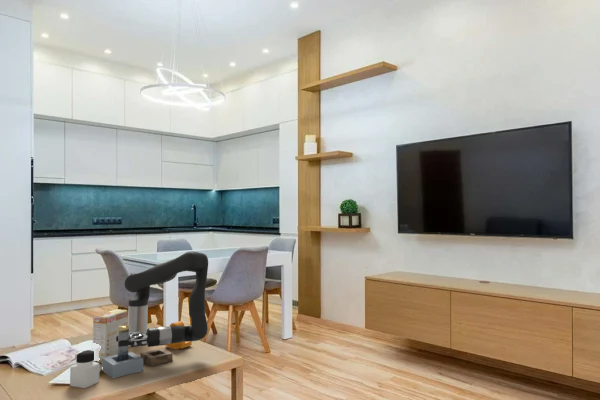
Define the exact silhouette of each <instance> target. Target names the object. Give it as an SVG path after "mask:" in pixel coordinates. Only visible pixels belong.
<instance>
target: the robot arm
mask: <svg viewBox="0 0 600 400" xmlns="http://www.w3.org/2000/svg"><path fill="white" fill-rule="evenodd" d="M208 270H209V257H208V256H207V254H205V253H202V252H198V251H194V250H193V251H192V250H191V251H190V250H189V251H187V252H184V253H183V254H181V255H179V256H177V257H176V258H172V259H170V260H167V261H165V262H162V263H160V264H157V265H154V266H152V267H150V268H148V269H146V270H144V271H141V272H137V273H132V274H129V275H128V276H126V278H125V280H124V288H125V290H126V291H128V292H130V293H135V294H134V296H132V297H131V298H130V299H128V307H127V308H128V326H129V340H121V341H119V342H118V336H116V341H117V342H118V346H119V347H121V346H128V345H129V347H131V348H136V347H145V346H146V347H148V348H150V347H152V348H153V347H159V346H165V345H167V344H171V343H178V342H189V341H192V342H197V341H200V340H202V339H204V338H205V337H206V336H207V334H208V321H207V316H206V298H205V297H206V285H207V279H208ZM183 272H193V273H195V284H194V286H193V288H192V289H191V292H190V295H189V300H188V315H189V317H190V319H191V320H190V321H191V324H190V325H184V326H171V327H170V326H158V327H148V312H149V310H148V306H149V305H148V304H149V303H148V302H149V300H150V292H151V291H150V289H151V286H155V285H160V284H164V283H167V282H170V281H172V280H174V279H175V278H176V276H178V275H177V274H179V273H183Z"/></svg>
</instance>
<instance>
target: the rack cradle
mask: <svg viewBox="0 0 600 400" xmlns="http://www.w3.org/2000/svg"><path fill="white" fill-rule="evenodd" d="M102 367H103V371H104V373H105V374H106V375H107V376H109V377H111V378H112V379H115V378H119V377H124V376H128V375H132V374H136V373H141V372H143V371H144V362H143V358H142V357H140V355H138V354H136V353H134V352H133V351H128V360H125V361H120V362H118V355H113V356H108V357H103V358H102V362H101V368H102ZM103 371H102V372H103Z"/></svg>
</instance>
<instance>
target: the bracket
mask: <svg viewBox="0 0 600 400" xmlns="http://www.w3.org/2000/svg"><path fill="white" fill-rule="evenodd" d="M171 326H185V323H184V322H183V321H181V320H179V321H177V322H176V321H175V322H173V323H170V325H169V327H171ZM192 342H193V341H189V342H178V343H171V344H167V345H164V346H166V347H168V348H169V349H172V348H173V350H180V349H185V348H187V347H191V346H192Z"/></svg>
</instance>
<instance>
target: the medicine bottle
mask: <svg viewBox="0 0 600 400" xmlns="http://www.w3.org/2000/svg"><path fill="white" fill-rule="evenodd" d="M75 355H76V357H75V358H76V359H75V360H76V361H75V362H76V363H75V364H74V365H72V366H70V368H69V369H70V371H69V372H70V374H69V386H70V387H74V388H81V389H87V388H88V387H91V386H93V385H95V384H97V383H100V362H94V351H93V350H91V349H90V350H89V349H85V350H81V351H78V352H77V353H76V354H75Z"/></svg>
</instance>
